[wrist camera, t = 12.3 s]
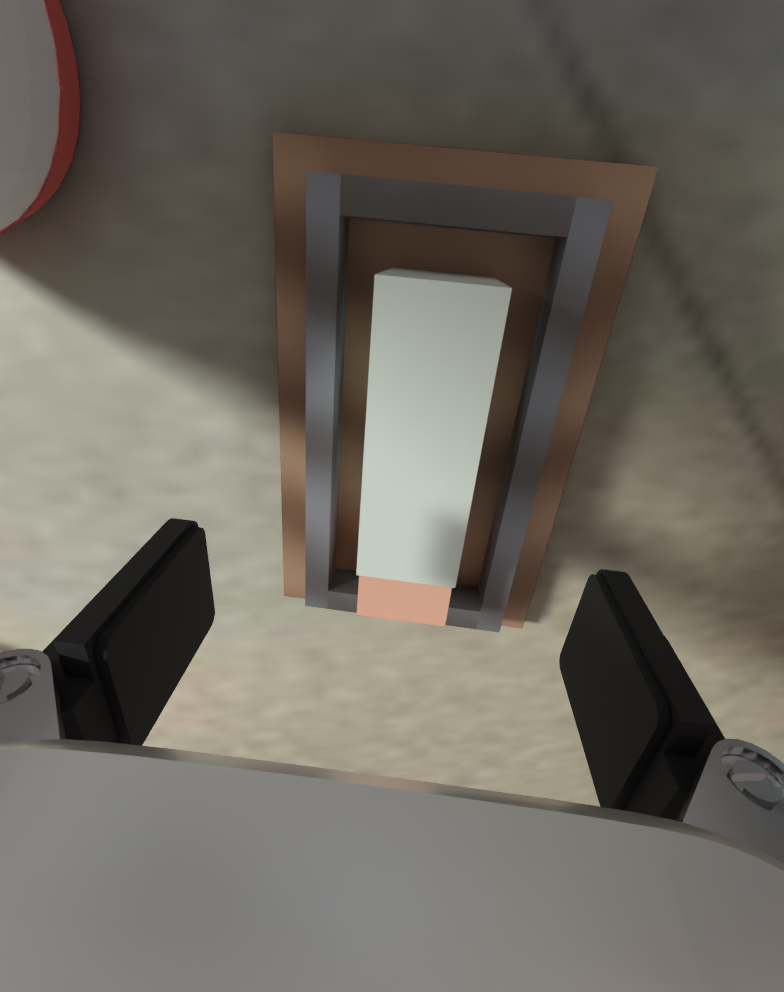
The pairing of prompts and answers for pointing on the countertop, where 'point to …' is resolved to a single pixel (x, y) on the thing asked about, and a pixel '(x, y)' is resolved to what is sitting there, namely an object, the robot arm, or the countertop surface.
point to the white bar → (424, 435)
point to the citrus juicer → (35, 106)
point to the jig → (523, 356)
